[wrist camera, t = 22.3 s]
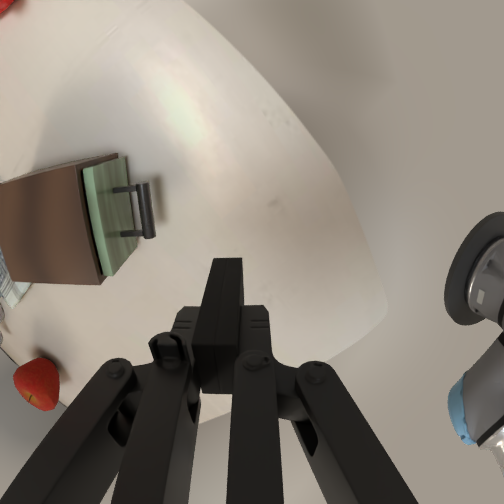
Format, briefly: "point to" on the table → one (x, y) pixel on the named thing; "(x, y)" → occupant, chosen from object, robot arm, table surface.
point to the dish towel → (10, 285)
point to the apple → (38, 383)
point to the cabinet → (49, 226)
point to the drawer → (115, 212)
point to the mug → (0, 318)
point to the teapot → (4, 4)
